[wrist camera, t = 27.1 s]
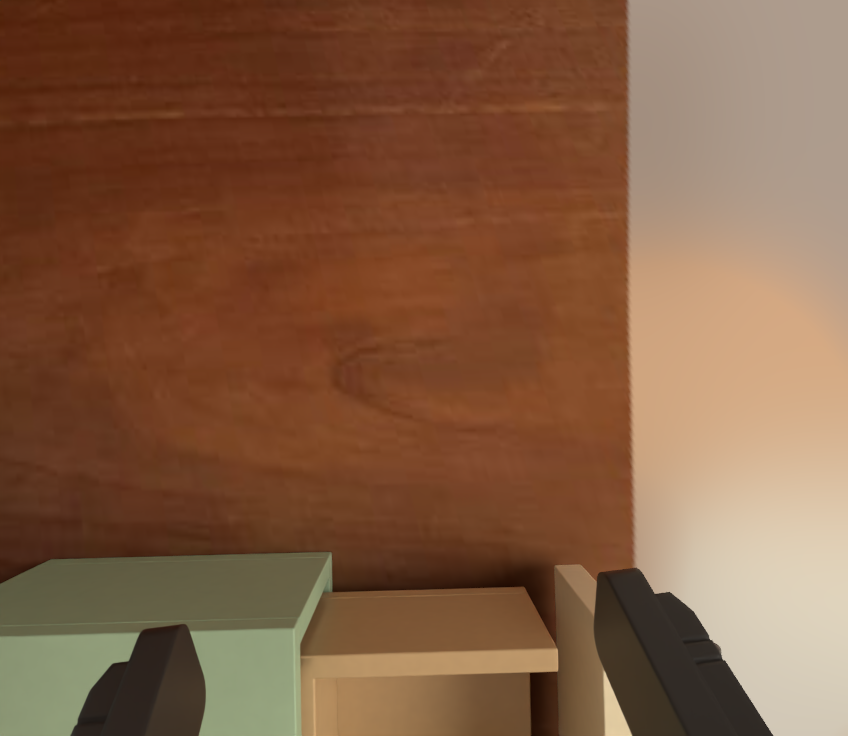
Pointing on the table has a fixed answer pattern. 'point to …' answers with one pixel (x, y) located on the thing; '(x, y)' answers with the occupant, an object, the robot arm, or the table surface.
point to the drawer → (453, 662)
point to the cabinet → (157, 607)
